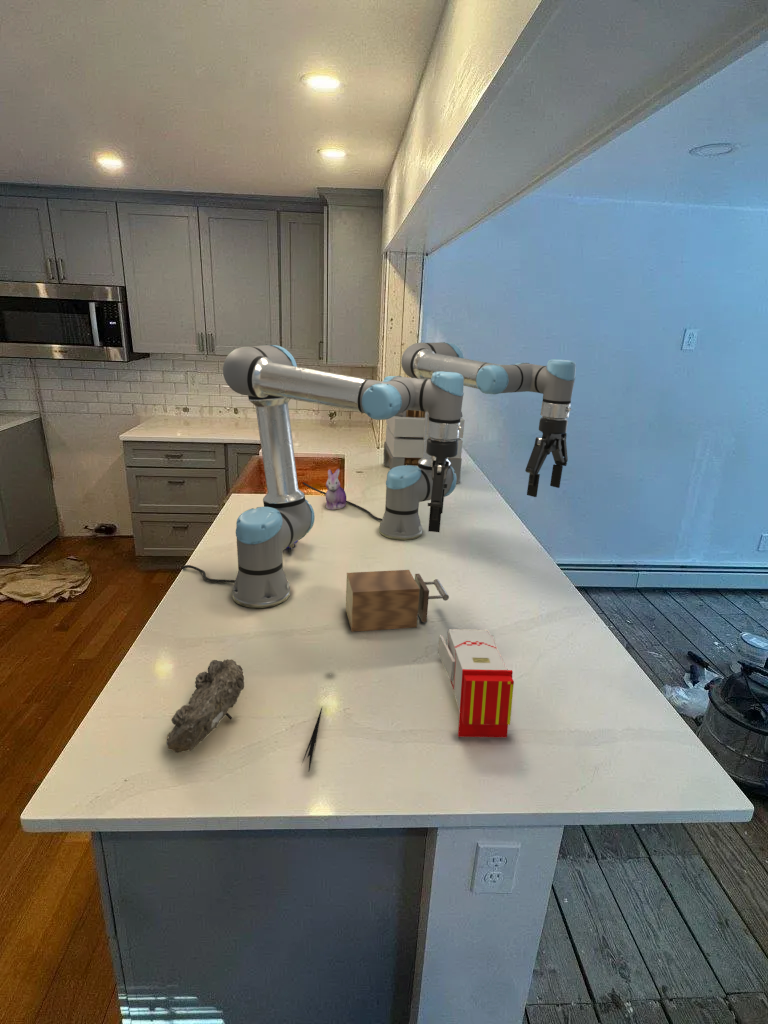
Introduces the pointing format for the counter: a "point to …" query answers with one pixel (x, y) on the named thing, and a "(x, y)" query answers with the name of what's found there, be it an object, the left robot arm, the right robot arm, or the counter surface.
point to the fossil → (206, 705)
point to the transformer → (412, 441)
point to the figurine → (334, 492)
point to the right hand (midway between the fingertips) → (543, 491)
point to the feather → (313, 740)
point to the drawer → (427, 595)
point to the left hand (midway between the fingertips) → (435, 521)
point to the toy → (478, 682)
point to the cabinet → (381, 600)
